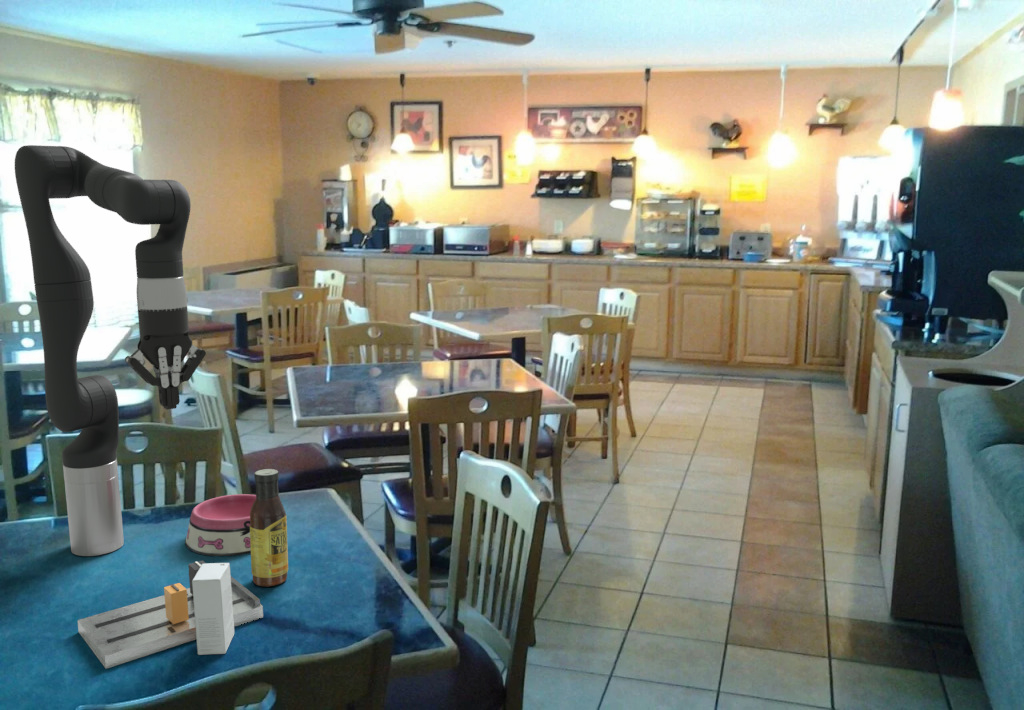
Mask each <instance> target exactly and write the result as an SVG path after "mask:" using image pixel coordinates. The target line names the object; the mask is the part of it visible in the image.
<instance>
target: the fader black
mask: <svg viewBox="0 0 1024 710" xmlns="http://www.w3.org/2000/svg"><path fill="white" fill-rule="evenodd" d="M206 563H207V562H205V561H204V560H199V561H194V562H191V563H188V564H187V567H188V578H189V588H190V593H191V594H192V595H193V586H192V580H193V579H194V577H195V575H196V574H197V572H198V570H199V568H200V567H201V565H202V564H206Z"/></svg>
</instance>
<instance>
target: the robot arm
mask: <svg viewBox="0 0 1024 710" xmlns="http://www.w3.org/2000/svg"><path fill="white" fill-rule="evenodd" d="M14 174H15V175H14V176H15V181H16V182H15V183H16V186H17V192H18V195H19V196H18V197H19V199H20V204H21V209H22V212H23V216H24V223H25V227H26V231H27V236H28V241H29V248H30V249H29V250H30V256H31V264H32V273H33V284H34V291H35V298H36V304H37V309H38V310H37V311H38V315H39V323H40V330H41V338H42V347H43V360H44V361H43V363H44V364H43V365H44V391H45V404H46V410H47V414H48V416H49V419H50V421H51V423H52V425H53V426H54V427H55V428H56V429H57V430H59V431H60V432H64V433H65V432H66V433H67V432H68V433H69V432H74V431H78V430H81V431H80V433H78V435H77V437H76V438H75V439H73V440H72V441H71V442H70V443H68V445H66V446H65V447H64V448H63V450H62V453H61V458H62V468H63V479H64V488H65V489H64V490H65V500H66V512H67V521H68V532H69V542H70V552H71V553H72V554H74V555H76V556H81V557H94V556H95V557H96V556H101V555H106V554H109V553H112V552H115V551H117V550H119V549H120V548H122V547H123V545H124V544H125V542H124V541H125V540H124V531H123V530H124V527H123V517H122V516H123V515H122V505H121V504H122V503H121V491H120V481H119V478H120V477H119V469H118V467H119V466H118V455H117V450H118V447H119V443H120V422H119V421H120V419H119V417H120V416H119V412H120V411H119V401H118V396H117V391H116V388H115V387H114V385H113V383H112V382H111V381H110V380H109V378H107V377H105V376H103V375H100V374H96V375H95V374H94V375H87V376H84V377H80V378H79V377H78V362H77V360H78V352H79V350H80V349H79V348H80V345H81V342H82V341H83V338H84V336H85V333H86V331H87V328H88V326H89V324H90V320H91V319H92V316H93V311H94V304H95V302H94V294H93V287H92V286H93V285H92V278H91V273H90V269H89V267H88V265H87V264H86V262H85V260H83V258H82V257H81V255H80V254H79V253H78V251H76V249H75V248H74V246H73V245H71V243H70V242H69V241H68V240H67V238H66V237H65V236H64V235H63V233H62V231H61V230H60V228H59V227H58V225H57V223H56V222H57V221H56V220H55V218H54V214H53V211H52V208H51V204H50V200H51V199H71V198H76V197H88V198H89V200H90V201H91V202H92V203H93V204H94V205H96V206H98V207H100V208H101V209H105V210H107V211H110V212H113V213H117V215H118V216H120V217H121V218H122V219H123V220H124V221H125V222H128V223H130V224H133V225H141V226H144V225H146V226H147V225H148V226H149V225H159V227H158V229H157V232H156V235H154V236H153V237H151V238H147V239H145V240H142V241H140V242H138V243H136V246H135V251H134V253H135V254H134V255H135V256H134V257H135V267H136V268H135V269H136V277H137V278H136V302H137V303H136V306H137V315H138V317H137V318H138V326H139V327H138V331H139V332H138V333H139V341H138V343H137V349H136V350H135V351H134V352H133V353H132V354H130V355H127V356H125V358H124V362H125V363H126V364H127V365H128V366H129V367H130V368H131V369H132V370H134V372H135V373H136V374H137V375H138V376H140V378H142V380H143V381H144V382H145V383H147V384H149V385H151V386H153V387H155V386H157V388H158V400H159V404H160V406H162V407H163V409H165V410H166V411H168V410H173V409H177V405H179V403H180V401H181V400H180V385H182V383H184V382H188V381H189V380H190V379H191V378H192V376H193V374H194V373H195V372H196V370H197V369H198V367H199V366H200V364H201V362H202V361H203V360H204V358H205V356H206V355H207V352H206V350H205V349H203V348H199V347H197V346H195V345H194V344H193V340H192V338H191V337H190V332H189V331H190V328H189V314H188V313H189V312H188V296H187V287H186V283H185V279H184V278H185V277H184V265H183V248H184V243H185V239H186V234H187V233H186V232H187V229H188V224H189V220H190V219H189V218H190V215H191V198H190V195H189V192H188V190H187V189H186V188H185V186H184V185H183V184H182V183H181V182H179V181H177V180H175V179H143V178H142V177H141V176H139V175H138V174H135V173H133V172H131V171H126V170H122V169H119V168H114V167H111V166H108V165H106V164H102V163H101V162H99V161H97V160H95V159H93V158H91V157H90V156H88V155H87V154H86V153H84V152H82V151H80V150H78V149H76V148H73V147H70V146H61V145H31V144H29V145H23V146H20V147H19V148H18V150H17V151H16V153H15V157H14ZM186 356H187V357H188V358H187V359H186V361H185V362H184V364H183V365H181V364H182V362H183V361H184V359H185V358H186ZM143 358H144V359H146V360H147V361H148V362H149V364H151V365H152V367H153V372H154V375H155V376H154V375H153V374H152V373H151V372H150V371H149V370H148V369H147V368H146V367H145V366H144V365H143V364H144V363H145V361H144V359H143ZM181 366H182V367H181Z"/></svg>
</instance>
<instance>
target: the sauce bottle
mask: <svg viewBox="0 0 1024 710" xmlns="http://www.w3.org/2000/svg"><path fill="white" fill-rule="evenodd" d="M253 477H254V482H255V495H256V497H257V498H256V500H255V502H254V503H253V505H252V507H251V510H250V544H251V553H250V564H251V565H250V567H251V568H250V569H251V574H252V581H253V583H254V584H255V585H256V586H259V587H266V588H268V587H275V586H278V585H281V584H283V583H284V582H286V580H287V578H288V571H289V549H288V525H287V524H288V523H287V521H288V519H287V516H288V515H287V513H286V510H285V508H284V505H283V502H282V500H281V498H280V495H279V494H280V493H279V492H280V491H279V479H280V475H279V471H278V470H277V469H274V468H265V469H259V470H257V471H255V472H254V476H253Z"/></svg>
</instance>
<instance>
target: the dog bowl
mask: <svg viewBox="0 0 1024 710" xmlns="http://www.w3.org/2000/svg"><path fill="white" fill-rule="evenodd" d="M256 498H257V497H256V494H247V493H246V494H245V493H241V494H239V493H238V494H228V495H221V496H216V497H214V498H210V499H207V500H204V501H202V502H200V503H198V504H197V505H195V507H193V509H192V510H191V514H190V517H189V523H188V529H187V533H186V536H185V537H186V538H185V541H184V542H185V543H184V544H185V547H186V548H187V549H188V550H189V551H191V552H192V553H194V552H195V554H197V555H200V554H201V556H205V557H215V556H218V558H220V557H221V556H222V557H223V556H227V557H237V555H238V556H245V555H249V553H250V554H251V544H250V510H251V507H252V505H253V503H254V502H255V500H256ZM244 554H245V555H244ZM219 556H220V557H219ZM223 558H224V557H223Z"/></svg>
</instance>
